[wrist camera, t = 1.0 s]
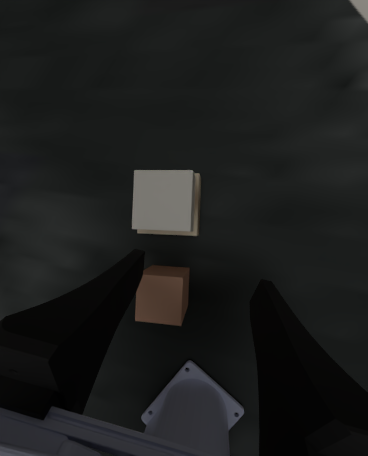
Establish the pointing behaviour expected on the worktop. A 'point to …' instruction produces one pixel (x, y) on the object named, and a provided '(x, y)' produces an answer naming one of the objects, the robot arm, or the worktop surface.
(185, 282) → the terracotta cube
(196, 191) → the tower base
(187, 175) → the tower top
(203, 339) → the worktop surface
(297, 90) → the worktop surface
